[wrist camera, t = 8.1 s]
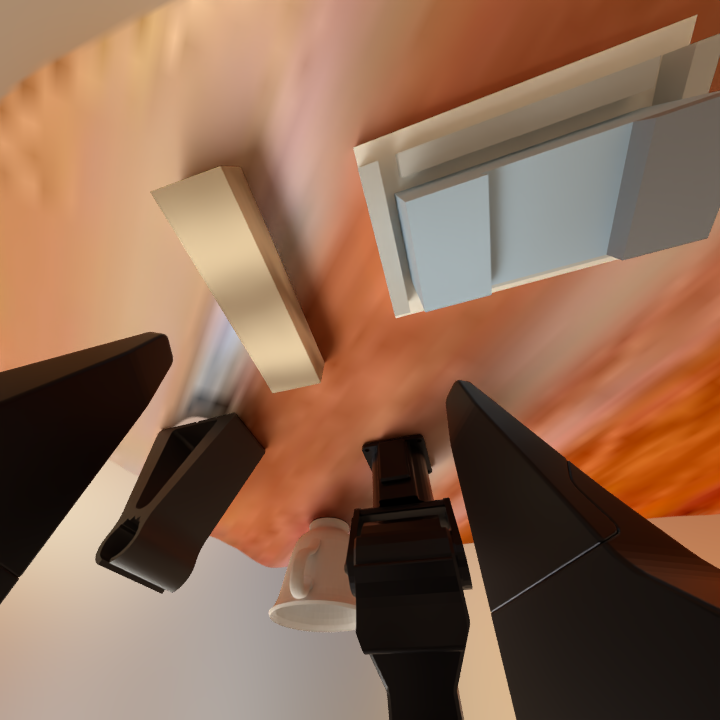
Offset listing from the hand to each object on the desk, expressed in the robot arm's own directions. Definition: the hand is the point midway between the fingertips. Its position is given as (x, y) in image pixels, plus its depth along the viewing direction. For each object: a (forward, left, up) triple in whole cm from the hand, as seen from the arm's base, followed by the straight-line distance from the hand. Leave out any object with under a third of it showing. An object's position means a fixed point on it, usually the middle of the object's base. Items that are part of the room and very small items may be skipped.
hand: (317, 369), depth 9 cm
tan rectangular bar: (0, +6, -12) cm, 13 cm away
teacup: (-33, +14, -12) cm, 38 cm away
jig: (+1, -10, -12) cm, 15 cm away
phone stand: (-13, +19, -12) cm, 26 cm away
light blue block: (+1, -10, -11) cm, 15 cm away
